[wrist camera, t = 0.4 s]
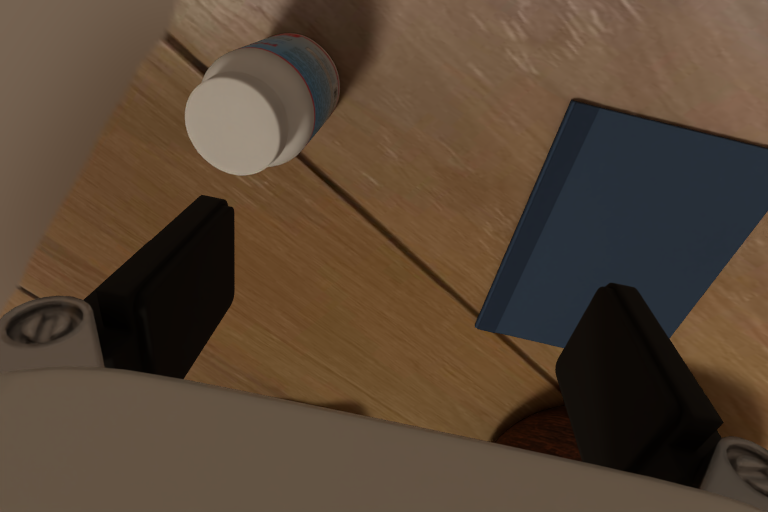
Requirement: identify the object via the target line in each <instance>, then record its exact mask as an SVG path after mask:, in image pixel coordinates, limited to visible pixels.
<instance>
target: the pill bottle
mask: <svg viewBox="0 0 768 512" xmlns="http://www.w3.org/2000/svg"><path fill="white" fill-rule="evenodd" d="M339 94H340V80H339V75H338V71H337V68H336V66H335V64H334V62H333V60H332V59H331V57H330V56H329V55H328V53H327V52H326V51H325V50H324V49H323V48H322V47H321V46H320V45H319V44H317V43H316V42H315V41H313V40H312V39H310V38H308V37H306V36H303V35H300V34H296V33H282V34H278V35H274V36H272V37H269V38H266V39H264V40H261V41H258V42H255V43H253V44H250V45H247V46H244V47H242V48H239V49H236V50H233V51H231V52H228V53H226V54H224V55H223V56H221V57H220V58H218V59H217V60H216V61H215V62H214V63H213V64H212V65H211V66H210V67H209V69H208V70H207V72H206V74H205V76H204V78H203V80H202V83H201V84H199V85H198V86H197V87H196V88H195V89H194V90H193V92H192V93H191V95H190V97H189V99H188V101H187V104H186V109H185V123H186V128H187V132H188V135H189V137H190V139H191V141H192V143H193V145H194V147H195V148H196V150H197V151H198V152H199V154H200V155H201V156H202V157H203V158H204V159H205V160H206V161H208V162H209V163H210V164H211V165H213V166H214V167H216V168H218V169H220V170H222V171H224V172H227V173H230V174H235V175H251V174H255V173H258V172H260V171H262V170H264V169H265V168H267V167H270V166H277V165H280V164H283V163H285V162H287V161H289V160H291V159H293V158H294V157H295V156H296V155H298V154H299V153H300V152H301V151H302V150H303V149H304V147H305V146H306V145H307V144H308V142H309V141H310V140H311V139H312V138H313V136H314V135H315V134H316V133H317V132H318V130H319V129H320V128H321V127H322V125H323V124H324V123H325V122H326V120H327V119H328V118H329V116H330V115H331V114H332V112H333V111H334V109H335V107H336V105H337V102H338V99H339Z"/></svg>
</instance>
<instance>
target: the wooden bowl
mask: <svg viewBox="0 0 768 512" xmlns="http://www.w3.org/2000/svg"><path fill="white" fill-rule="evenodd" d="M495 443H497V444H501V445H506V446H511V447H515V448H520V449H525V450H529V451H534V452H539V453H543V454H548V455H553V456H557V457H562V458H567V459H571V460H576V461H580V462H582V459H581V456H580V453H579V449H578V446H577V443H576V439H575V436H574V433H573V430H572V426H571V423H570V420H569V416H568V413H567V410H566V406H565V405H564V406H559V407H555V408H551V409H547V410H544V411H541V412H539V413H536V414H534V415H531V416H529V417H527V418H525V419H523V420H522V421H520V422H518V423H517V424H515V425H514V426H512V427H511V428H510V429H508V430H507V431H506V432H505V433H504V434H502V435H501V436H500V438H499V439H498V440H497V441H496V442H495Z"/></svg>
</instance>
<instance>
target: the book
mask: <svg viewBox="0 0 768 512" xmlns="http://www.w3.org/2000/svg"><path fill="white" fill-rule="evenodd" d="M767 211H768V148H764V147H760V146H756V145H752V144H748V143H744V142H740V141H736V140H732V139H728V138H724V137H719V136H715V135H711V134H707V133H703V132H699V131H695V130H691V129H687V128H683V127H679V126H675V125H671V124H666V123H662V122H658V121H654V120H650V119H646V118H642V117H638V116H634V115H630V114H626V113H622V112H617V111H613V110H609V109H605V108H601V107H597V106H593V105H589V104H585V103H581V102H577V101H573V100H571V102H570V104H569V106H568V109H567V111H566V113H565V116H564V118H563V120H562V123H561V125H560V127H559V130H558V132H557V134H556V137H555V139H554V141H553V144H552V146H551V148H550V151H549V153H548V155H547V158H546V160H545V162H544V165H543V167H542V169H541V172H540V174H539V176H538V179H537V181H536V183H535V186H534V188H533V190H532V193H531V195H530V197H529V200H528V202H527V204H526V207H525V209H524V211H523V214H522V216H521V218H520V221H519V223H518V225H517V228H516V230H515V232H514V235H513V237H512V239H511V242H510V244H509V246H508V249H507V251H506V253H505V256H504V258H503V260H502V263H501V265H500V267H499V270H498V272H497V274H496V277H495V279H494V281H493V284H492V286H491V288H490V291H489V293H488V295H487V297H486V300H485V302H484V304H483V307H482V309H481V311H480V314H479V316H478V318H477V321H476V323H475V328H477V329H480V330H484V331H488V332H493V333H495V332H497V333H501V334H505V335H510V336H514V337H518V338H523V339H527V340H531V341H535V342H540V343H544V344H548V345H553V346H557V347H561V348H565V346H566V344H567V342H568V341H569V339H570V337H571V335H572V334H573V332H574V330H575V328H576V326H577V325H578V323H579V321H580V319H581V318H582V316H583V314H584V312H585V311H586V309H587V307H588V305H589V304H590V302H591V300H592V298H593V296H594V295H595V293H596V291H597V290H598V288H600V287H602V286H603V287H605V286H606V285H607V284H609V283H617V284H621V285H626V286H631V287H634V288H636V289H637V290H638V291H639V293H640V294H641V296H642V298H643V299H644V301H645V302H646V304H647V305H648V307H649V308H650V310H651V311H652V313H653V315H654V316H655V318H656V319H657V321H658V322H659V324H660V325H661V327H662V328H663V330H664V331H665V333H666V335H667V336H668V338H670V337H671V336H672V334H673V333H674V332H675V330H676V329H677V328H678V327H679V325H680V324H681V323H682V321H683V320H684V319H685V318H686V316H687V315H688V314H689V312H690V311H691V310H692V308H693V307H694V306H695V305H696V303H697V302H698V301H699V299H700V298H701V297H702V295H703V294H704V293H705V292H706V290H707V289H708V288H709V286H710V285H711V284H712V282H713V281H714V280H715V279H716V277H717V276H718V275H719V273H720V272H721V271H722V269H723V268H724V267H725V266H726V264H727V263H728V262H729V260H730V259H731V258H732V256H733V255H734V254H735V253H736V251H737V250H738V249H739V247H740V246H741V245H742V244H743V242H744V241H745V240H746V238H747V237H748V236H749V234H750V233H751V232H752V231H753V229H754V228H755V227H756V225H757V224H758V223H759V221H760V220H761V219H762V218H763V216H764V215H765V214H766V212H767Z"/></svg>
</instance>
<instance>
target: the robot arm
mask: <svg viewBox="0 0 768 512" xmlns="http://www.w3.org/2000/svg"><path fill="white" fill-rule="evenodd" d="M233 298H234V209H233V207H229V206H228V204H227V201H226V200H224V199H219V198H215V197H210V196H205V195H201V196H199V197H198V198H197V199H196V200H195V201H194V202H193V203H192V204H191V205H189V206H188V207H187V208H186V209H185V210H184V211H183V212H182V213H181V214H179V215H178V216H177V217H176V218H175V219H174V220H173V221H172V222H171V223H169V224H168V225H167V226H166V227H165V228H164V229H163V230H162V231H161V232H159V233H158V234H157V235H156V236H155V237H154V238H153V239H152V240H150V241H149V242H148V243H146V244H145V245H144V246H143V247H142V248H141V249H140V250H139V251H137V252H136V253H135V254H134V255H133V256H132V257H131V258H130V259H129V260H127V261H126V262H125V263H124V264H123V265H122V266H121V267H120V268H119V269H117V270H116V271H115V272H114V273H113V274H112V275H111V276H110V277H109V278H107V279H106V280H105V281H104V282H103V283H102V284H101V285H100V286H99V287H97V288H96V289H95V290H94V291H93V292H92V293H91V294H90V295H88V296H87V297H86V298H85V299H84V300H82V299H78V298H75V297H71V296H51V297H43V298H39V299H35V300H32V301H28V302H26V303H24V304H22V305H19V306H17V307H15V308H13V309H12V310H11V311H9V312H8V313H6V314H5V315H4V316H3V317H2V318H1V319H0V512H768V450H766V449H765V448H763V447H761V446H759V445H757V444H755V443H754V442H751V441H749V440H746V439H743V438H740V437H733V436H729V437H724V438H721V436H720V434H719V433H718V431H717V429H718V428H719V427H720V426H721V425H722V424H723V423H724V422H723V421H722V419H721V418H720V416H719V415H718V413H717V412H716V410H715V409H714V407H713V405H712V404H711V402H710V401H709V399H708V398H707V396H706V395H705V393H704V392H703V390H702V388H701V387H700V385H699V384H698V382H697V381H696V379H695V378H694V376H693V375H692V373H691V372H690V370H689V368H688V367H687V365H686V364H685V362H684V361H683V359H682V358H681V356H680V355H679V353H678V351H677V350H676V348H675V347H674V345H673V344H672V342H671V341H670V339H669V338H668V336H667V335H666V333H665V331H664V330H663V328H662V327H661V325H660V324H659V322H658V321H657V319H656V318H655V316H654V315H653V313H652V311H651V310H650V308H649V307H648V305H647V304H646V302H645V301H644V299H643V298H642V296H641V294H640V293H639V291H638V290H637V289H636V288H634V287H631V286H626V285H621V284H617V283H609V284H607V285H606V286H605V287H603V286H602V287H600V288H598V290H597V291H596V293H595V295H594V296H593V298H592V300H591V302H590V304H589V305H588V307H587V309H586V311H585V312H584V314H583V316H582V318H581V319H580V321H579V323H578V325H577V326H576V328H575V330H574V332H573V334H572V335H571V337H570V339H569V341H568V342H567V344H566V346H565V348H564V349H563V351H562V353H561V355H560V356H559V358H558V360H557V363H556V369H555V370H556V376H557V380H558V383H559V386H560V390H561V393H562V396H563V400H564V403H565V406H566V410H567V413H568V416H569V420H570V423H571V426H572V430H573V433H574V436H575V439H576V443H577V446H578V449H579V453H580V456H581V459H582V462H580V461H576V460H571V459H567V458H562V457H557V456H553V455H548V454H543V453H539V452H534V451H529V450H525V449H520V448H515V447H511V446H506V445H501V444H497V443H492V442H488V441H483V440H478V439H473V438H468V437H464V436H459V435H454V434H449V433H445V432H440V431H435V430H430V429H426V428H421V427H416V426H411V425H407V424H402V423H397V422H392V421H387V420H383V419H378V418H373V417H368V416H363V415H359V414H354V413H349V412H344V411H339V410H334V409H329V408H324V407H319V406H315V405H310V404H305V403H300V402H295V401H290V400H285V399H280V398H275V397H270V396H265V395H261V394H256V393H251V392H246V391H241V390H236V389H231V388H226V387H221V386H215V385H210V384H205V383H200V382H195V381H190V380H184V377H185V376H186V374H187V373H188V371H189V370H190V368H191V367H192V365H193V363H194V362H195V360H196V359H197V357H198V356H199V354H200V352H201V351H202V349H203V348H204V346H205V345H206V343H207V342H208V340H209V338H210V337H211V335H212V334H213V332H214V331H215V329H216V327H217V326H218V324H219V323H220V321H221V320H222V318H223V317H224V315H225V313H226V312H227V310H228V309H229V307H230V305H231V304H232V301H233Z"/></svg>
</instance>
